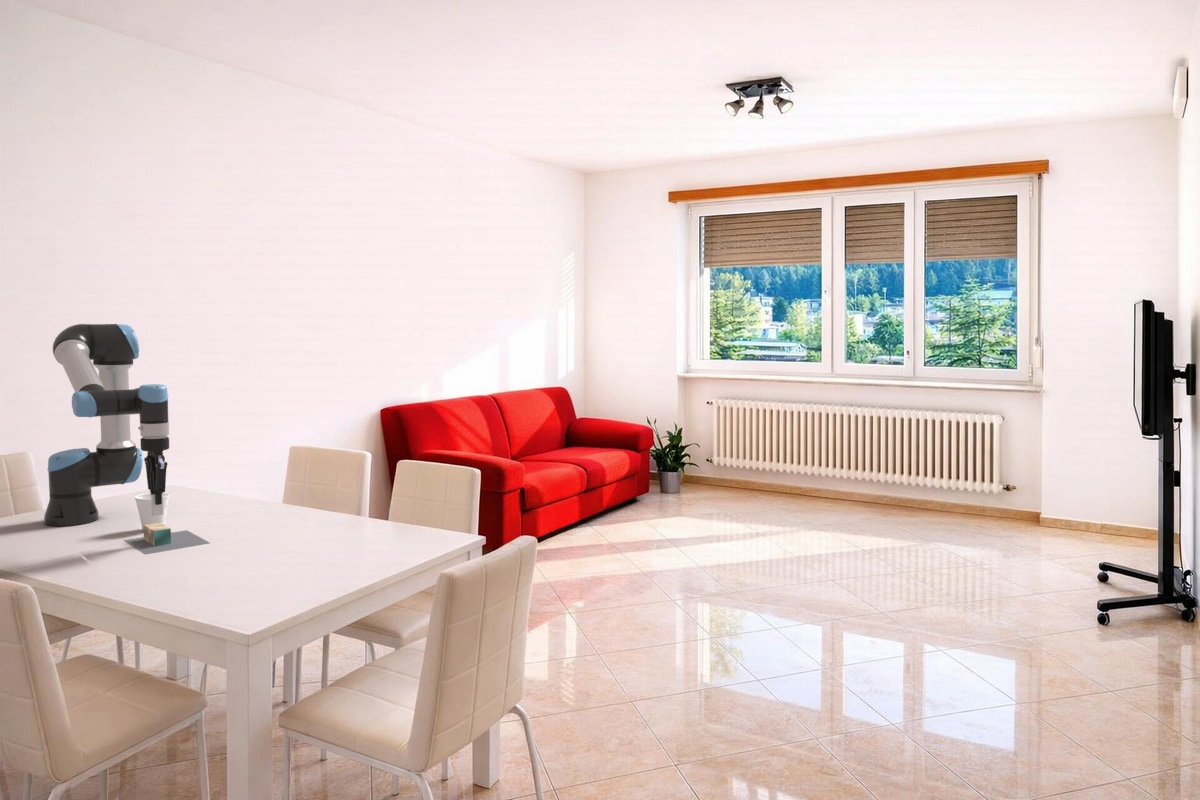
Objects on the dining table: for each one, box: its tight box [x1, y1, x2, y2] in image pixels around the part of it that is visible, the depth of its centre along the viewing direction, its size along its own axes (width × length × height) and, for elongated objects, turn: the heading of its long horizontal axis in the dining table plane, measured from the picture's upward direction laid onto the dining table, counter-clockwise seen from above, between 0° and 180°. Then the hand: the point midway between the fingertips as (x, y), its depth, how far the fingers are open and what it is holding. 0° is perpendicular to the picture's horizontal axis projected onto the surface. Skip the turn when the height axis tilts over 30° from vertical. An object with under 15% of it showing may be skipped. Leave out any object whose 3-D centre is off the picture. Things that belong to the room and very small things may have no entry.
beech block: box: [143, 522, 172, 546], centre depth 250 cm, size 4×4×10 cm
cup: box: [134, 492, 171, 531], centre depth 265 cm, size 10×10×11 cm
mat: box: [123, 529, 211, 555], centre depth 250 cm, size 20×18×1 cm
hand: (157, 514), depth 249 cm, fingers closed
